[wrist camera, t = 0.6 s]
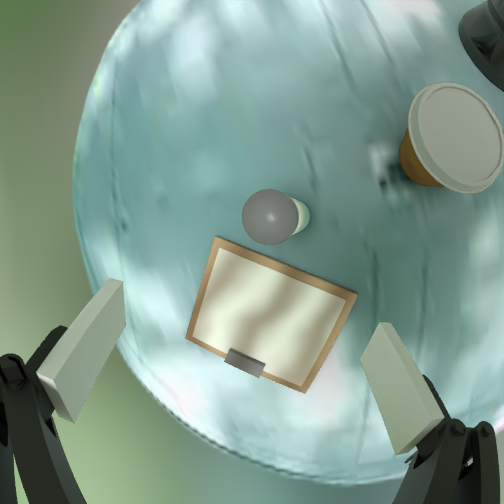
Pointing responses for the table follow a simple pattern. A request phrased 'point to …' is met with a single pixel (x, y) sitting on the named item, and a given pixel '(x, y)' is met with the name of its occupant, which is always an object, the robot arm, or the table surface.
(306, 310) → the clipboard
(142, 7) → the table surface
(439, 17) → the table surface
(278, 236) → the ball
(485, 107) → the disposable coffee cup
